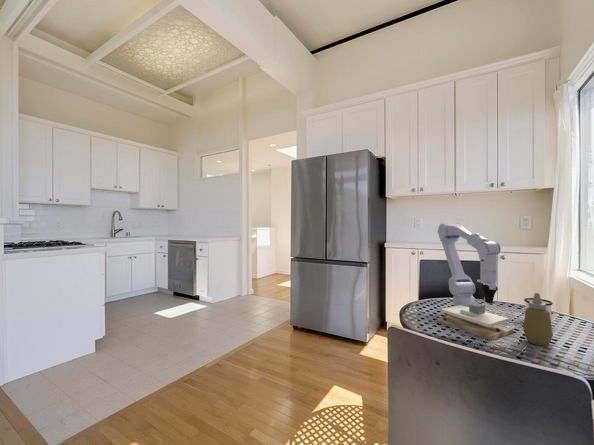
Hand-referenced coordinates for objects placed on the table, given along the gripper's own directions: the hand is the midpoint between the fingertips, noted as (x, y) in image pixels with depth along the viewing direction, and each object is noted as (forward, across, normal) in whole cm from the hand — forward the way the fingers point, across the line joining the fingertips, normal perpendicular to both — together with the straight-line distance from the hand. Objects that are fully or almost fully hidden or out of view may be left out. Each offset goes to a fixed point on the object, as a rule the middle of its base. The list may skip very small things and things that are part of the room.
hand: (488, 302), depth 115 cm
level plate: (+5, +2, -6) cm, 8 cm away
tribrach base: (+10, +2, -6) cm, 12 cm away
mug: (+10, -14, +20) cm, 26 cm away
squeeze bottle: (+10, +11, +13) cm, 20 cm away
